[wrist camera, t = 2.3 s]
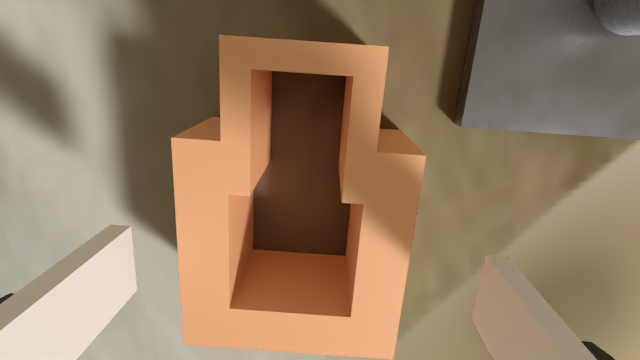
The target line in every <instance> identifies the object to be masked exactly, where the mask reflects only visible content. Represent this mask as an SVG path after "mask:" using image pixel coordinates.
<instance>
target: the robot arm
mask: <svg viewBox="0 0 640 360" xmlns="http://www.w3.org/2000/svg"><path fill="white" fill-rule="evenodd" d="M136 291H137V284H136V274H135V263H134V253H133V243H132V233H131V226H121V225H109V226H108V227H107V228H105V229H104V230H102V231H101V232H100V233H98V234H97V235H96V236H94V237H93V238H91V239H90V240H89V241H87V242H86V243H84V244H83V245H82V246H80V247H79V248H78V249H76V250H75V251H73V252H72V253H71V254H69V255H68V256H66V257H65V258H64V259H62V260H61V261H59V262H58V263H57V264H55V265H54V266H53V267H51V268H50V269H48V270H47V271H46V272H44V273H43V274H41V275H40V276H39V277H37V278H36V279H34V280H33V281H32V282H30V283H29V284H28V285H26V286H25V287H23V288H22V289H21V290H19V291H18V292H16V293H15V294H12V293H10V294H8V295H6V296H4V297H2V298H0V360H76V359H77V358H78V357H79V356H80V355H81V354H82V352H83V351H84V350H85V349H86V348H87V347H88V346H89V344H90V343H91V342H92V341H93V340H94V339H95V338H96V336H97V335H98V334H99V333H100V332H101V331H102V330H103V328H104V327H105V326H106V325H107V324H108V323H109V322H110V320H111V319H112V318H113V317H114V316H115V315H116V314H117V312H118V311H119V310H120V309H121V308H122V307H123V306H124V304H125V303H126V302H127V301H128V300H129V299H130V298H131V296H132V295H133V294H134V293H135V292H136ZM472 320H473V322H474V324H475V326H476V328H477V330H478V331H479V333H480V335H481V337H482V339H483V341H484V343H485V345H486V347H487V349H488V351H489V352H490V354H491V356H492V358H493V360H614V358H613V357H612V356H610V355H609V354H607V353H606V352H605V351H603V350H602V349H600V348H599V347H598V346H596V345H595V344H593V343H592V342H585V341H580V340H579V338H578V337H577V336H576V335H575V334H574V333H573V332H572V330H571V329H570V328H569V327H568V326H567V325H566V324H565V322H564V321H563V320H562V319H561V318H560V317H559V316H558V314H556V312H555V311H554V310H553V309H552V307H551V306H550V305H549V304H548V303H547V302H546V301H545V299H544V298H543V297H542V296H541V295H540V294H539V293H538V292H537V290H536V289H535V288H534V287H533V286H532V285H531V284H530V282H529V281H528V280H527V279H526V278H525V277H524V275H523V274H522V273H521V272H520V271H519V270H518V269H517V267H516V266H515V265H514V264H513V263H512V262H511V261H510V259H509V258H508V257H501V256H489V255H486V259H485V263H484V267H483V272H482V276H481V281H480V285H479V289H478V293H477V298H476V302H475V306H474V311H473V315H472Z"/></svg>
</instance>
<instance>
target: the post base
mask: <svg viewBox="0 0 640 360" xmlns="http://www.w3.org/2000/svg"><path fill="white" fill-rule="evenodd" d="M454 124H456V125H458V126H460V127H470V128H484V129H498V130H512V131H526V132H540V133H554V134H568V135H582V136H596V137H610V138H624V139H638V140H640V0H476V4H475V10H474V15H473V21H472V26H471V32H470V37H469V43H468V48H467V54H466V59H465V65H464V70H463V76H462V82H461V87H460V93H459V98H458V104H457V109H456V115H455V120H454Z"/></svg>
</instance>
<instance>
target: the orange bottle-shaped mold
mask: <svg viewBox="0 0 640 360" xmlns="http://www.w3.org/2000/svg"><path fill="white" fill-rule="evenodd" d="M388 51H389V47H385V46H371V45H357V44H343V43H329V42H315V41H301V40H287V39H273V38H259V37H245V36H231V35H219V74H220V117H211V118H209V119H207V120H205V121H203V122H201V123H199V124H197V125H195V126H193V127H191V128H189V129H187V130H185V131H183V132H181V133H179V134H177V135H175V136H173V137H171V147H172V164H173V181H174V198H175V215H176V232H177V249H178V266H179V283H180V300H181V317H182V334H183V345H195V346H209V347H223V348H237V349H251V350H265V351H279V352H293V353H307V354H321V355H335V356H349V357H363V358H377V359H392V360H393V357H394V351H395V345H396V339H397V333H398V327H399V320H400V314H401V308H402V302H403V296H404V290H405V283H406V277H407V271H408V265H409V259H410V252H411V246H412V240H413V234H414V228H415V222H416V215H417V209H418V203H419V197H420V191H421V185H422V178H423V172H424V166H425V160H426V155H425V154H424V153H423V152H422V151H421V150H420V149H419V148H418V147H417V146H416V145H415V144H414V143H413V142H412V141H411V140H410V139H409V138H408V137H407V136H406V135H405V134H404V133H403V132H402V131H401V130H395V129H381V128H379V127H380V119H381V110H382V102H383V94H384V85H385V77H386V68H387V60H388ZM273 71H283V72H297V73H311V74H325V75H339V76H346V85H345V96H344V108H343V119H342V131H341V142H340V154H339V165H338V166H339V177H340V188H341V199H342V203H350V204H351V207H350V217H349V227H348V237H347V247H346V256H341V255H327V254H313V253H299V252H285V251H271V250H257V249H253V213H254V188H255V187H256V185H257V183H258V181H259V180H260V178H261V176H262V174H263V173H264V171H265V169H266V167H267V166H268V164H269V162H270V151H271V113H272V76H273Z"/></svg>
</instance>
